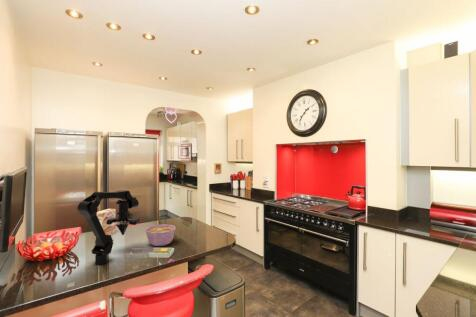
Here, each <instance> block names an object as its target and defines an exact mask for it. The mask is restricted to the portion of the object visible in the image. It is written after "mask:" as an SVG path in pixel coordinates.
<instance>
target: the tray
mask: <svg viewBox="0 0 476 317" xmlns="http://www.w3.org/2000/svg"><path fill="white" fill-rule="evenodd" d="M153 248H154V250H155V249H156V248H157V247H153ZM159 248H160V249H162V248H163V247H159ZM167 248H168V253H148V258H165V259H166V258H171V257H172V255H173V254H174V253H175V248H174V247H167Z"/></svg>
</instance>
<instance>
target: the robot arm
mask: <svg viewBox="0 0 476 317" xmlns="http://www.w3.org/2000/svg"><path fill="white" fill-rule="evenodd" d="M103 199H104V200H107V199H116V200H117V201H116V202H115V204H116V205H118V207H117V208H118V209H117V210H118V212H117V216H118V218H117V217H115V218H110V219H108V220H107V223H106V224H112V223H115V227H117V229H118V230H119V231H120V233H121V236H124V235H125V234H126V230H127V228H128V227H129V225H131V226H136V225H138V224H140V221H141V220H140V218H138V217H137V218H134V214H133V213H131V211H130V209H134V208H137V207H138V206H139V204H140V202H139V200H138V199H137V197H136V196H132V194H131V192H130V190H123V189H120V190H116V191H94V192H93V193H92V194H91V195H89V196H87V197H85V198H84V199H83V200H82V201H80V202H79V203H78V205H77V208H76V210H77V212H79V213H80V215H81V216H82V217H84V218H86V220H87V223H88V224H89V227H90V228H91V231H92V233H93V236H94V235H95V237H96V238H95V241H94V244H95V245H94V246H93V248H92V249H91V254H92V255H94V256H95V257H94V258H95V265H94V266H102V265H105V264H107V263H108V258H109V256H108V255H109V254H111V253H112V249H113V246H114V239H113V237H112V234H111V235H106V234H105V232H104V230H103V228H102V225H101V223H100V221H99V219H98V217H97V212H98V207H99V206H100V205H101V202H102V200H103Z"/></svg>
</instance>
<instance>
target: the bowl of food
mask: <svg viewBox="0 0 476 317" xmlns="http://www.w3.org/2000/svg"><path fill="white" fill-rule="evenodd" d="M175 231H176V226H175V225H173V224H165V223H163V224H155V225H151V226H148V227H146V228H145V233H146V237H147V240H148V243H149V244H150V245H151V246H152V247H153V246H154V247H163V246H167V245H169V244H171V242H172V241H173V238H174V236H175Z"/></svg>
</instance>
